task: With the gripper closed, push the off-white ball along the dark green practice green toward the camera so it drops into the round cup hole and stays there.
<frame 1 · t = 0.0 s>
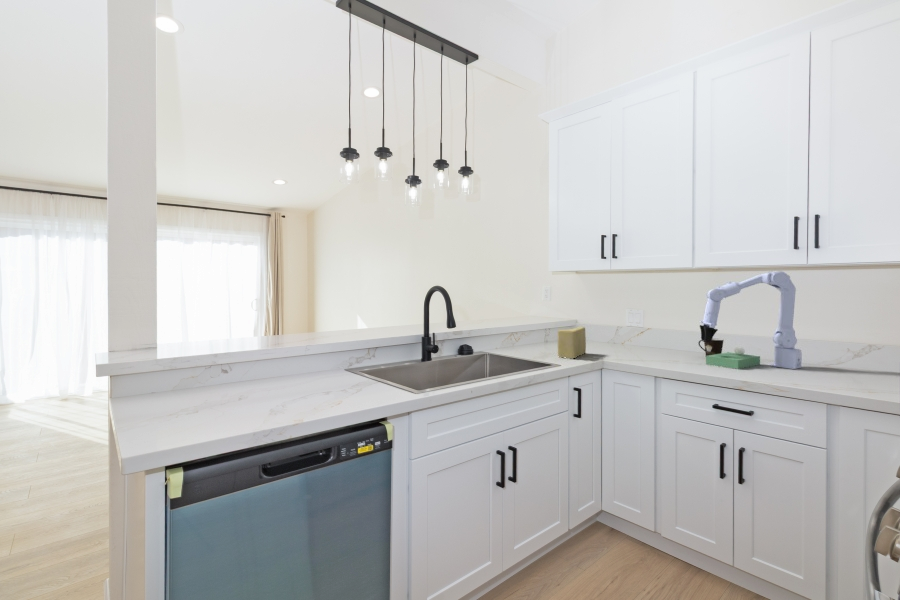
hand: (705, 341, 205), 11 cm above the worktop, tool pointing down, fingers open, 7 cm apart
coffee mug: (711, 358, 218), on the worktop
cheese: (575, 356, 227), on the worktop
ball: (739, 350, 203), point 6 cm above the worktop, touching practice green
practice green: (732, 364, 200), on the worktop
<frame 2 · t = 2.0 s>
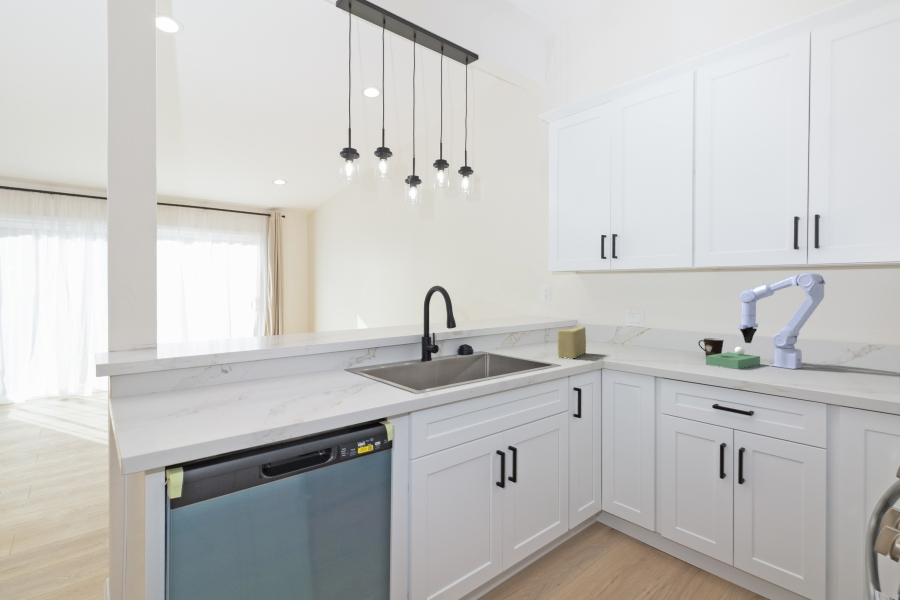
hand: (748, 342, 207), 9 cm above the worktop, tool pointing down, fingers closed
nothing on the worktop moved.
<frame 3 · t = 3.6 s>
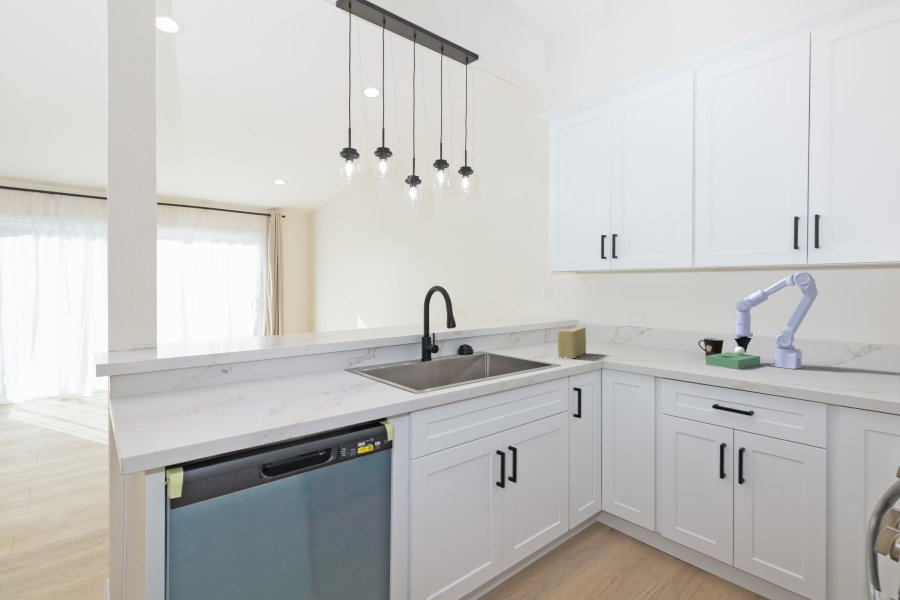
hand: (742, 352, 205), 5 cm above the worktop, tool pointing down, fingers closed, pressing on ball
ball: (739, 350, 203), point 6 cm above the worktop, touching gripper, practice green
everything else where it was.
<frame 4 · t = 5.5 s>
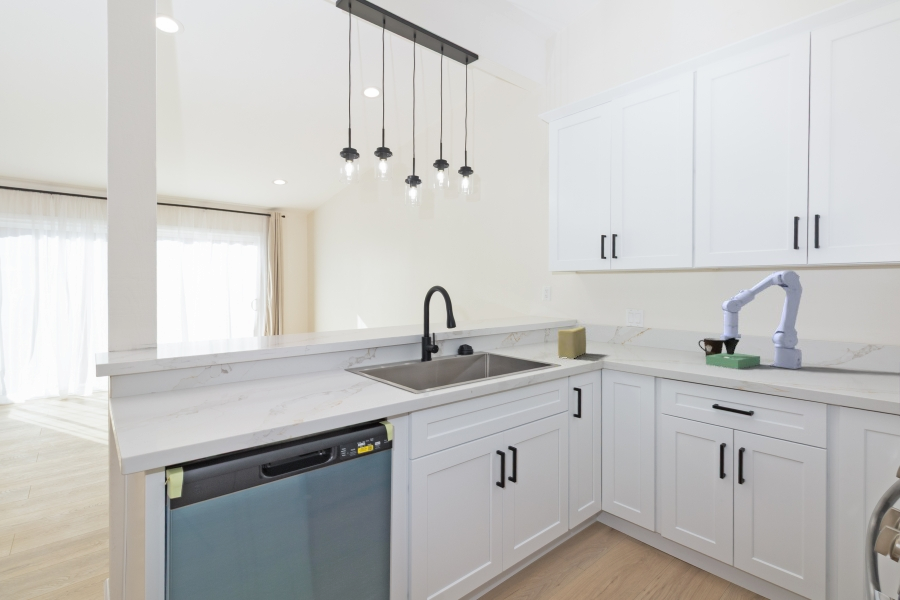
hand: (730, 354, 199), 5 cm above the worktop, tool pointing down, fingers closed
ball: (726, 361, 198), point 2 cm above the worktop, tilted 35°
everything else where it was.
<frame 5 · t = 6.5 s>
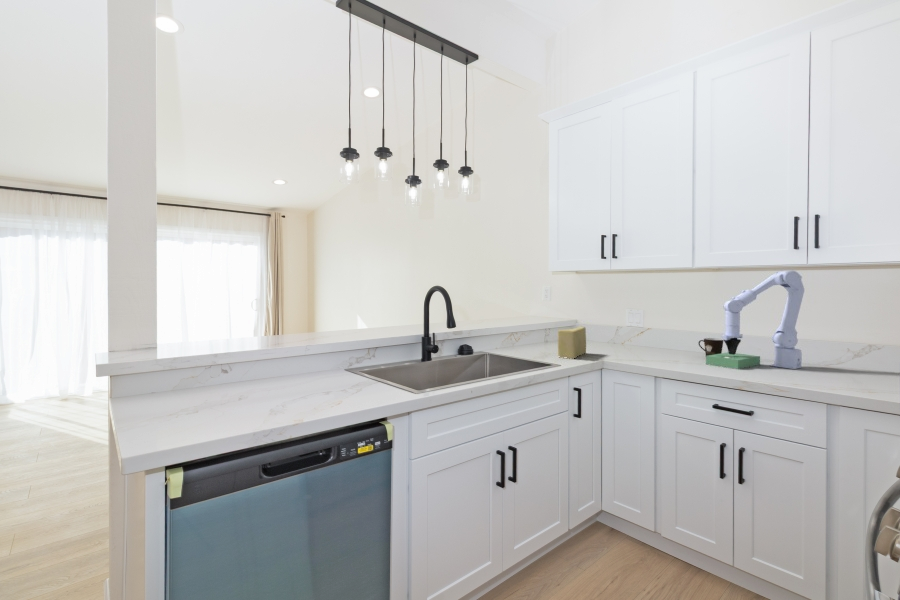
hand: (732, 354, 200), 5 cm above the worktop, tool pointing down, fingers closed
ball: (726, 361, 198), point 2 cm above the worktop, tilted 29°
everything else where it was.
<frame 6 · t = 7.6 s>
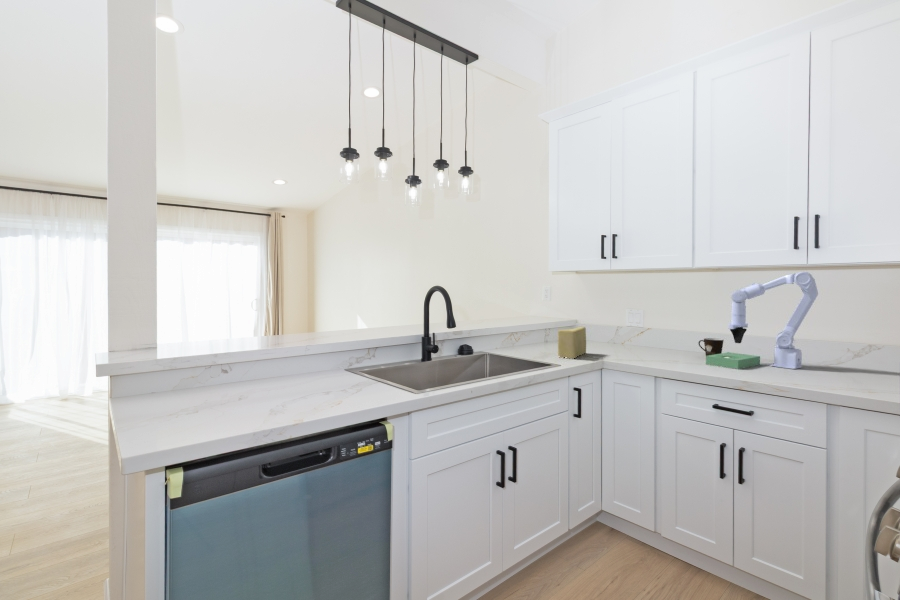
hand: (738, 343, 206), 9 cm above the worktop, tool pointing down, fingers closed
ball: (727, 361, 198), point 2 cm above the worktop, tilted 23°
everything else where it was.
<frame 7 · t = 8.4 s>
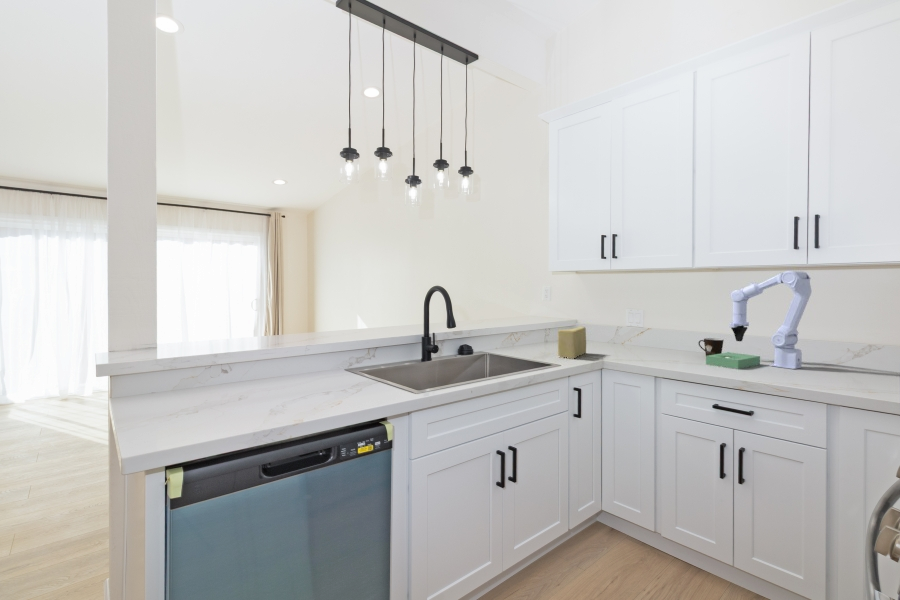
hand: (739, 341, 213), 9 cm above the worktop, tool pointing down, fingers closed
nothing on the worktop moved.
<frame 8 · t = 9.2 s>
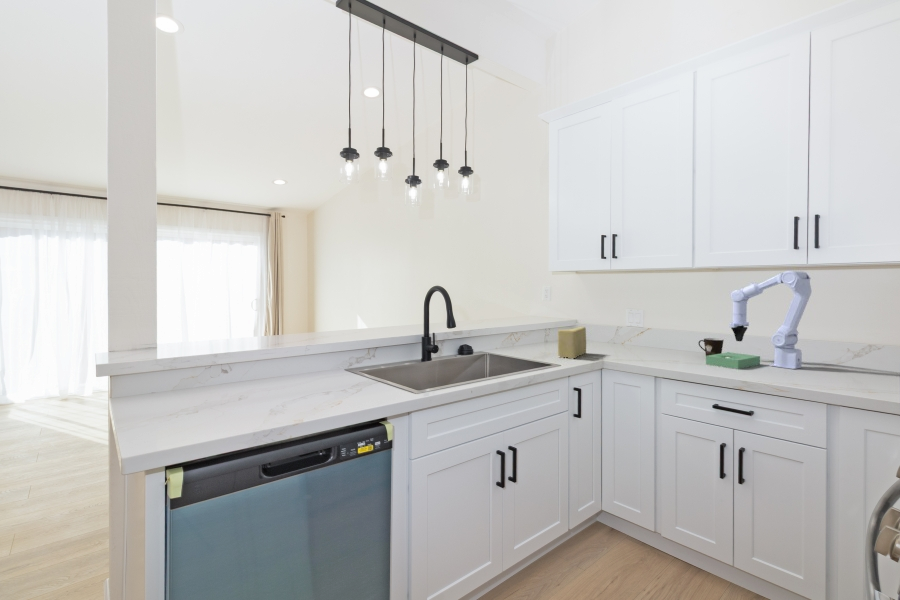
hand: (739, 341, 213), 9 cm above the worktop, tool pointing down, fingers closed
nothing on the worktop moved.
at the end: ball 0.4 cm from the target spot on the practice green, point 2.0 cm above the practice green's base; ball moved 11.9 cm from its start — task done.
